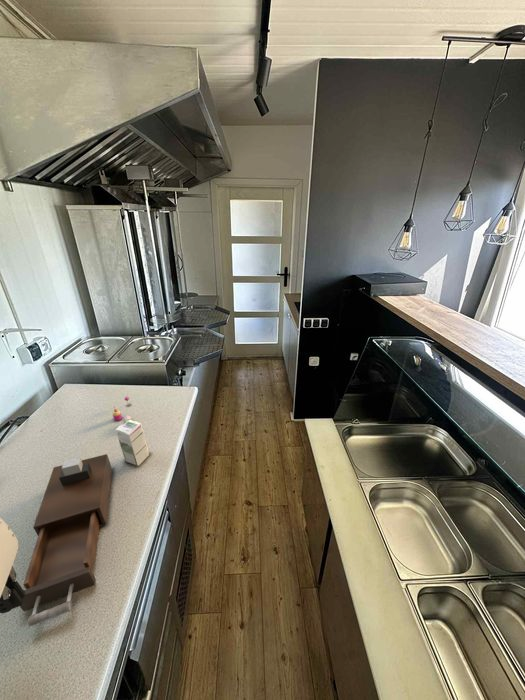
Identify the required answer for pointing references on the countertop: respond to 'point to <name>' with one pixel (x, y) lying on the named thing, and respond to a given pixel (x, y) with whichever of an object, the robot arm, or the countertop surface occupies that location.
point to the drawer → (61, 565)
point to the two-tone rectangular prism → (74, 471)
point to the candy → (118, 415)
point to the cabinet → (76, 495)
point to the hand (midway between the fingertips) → (12, 603)
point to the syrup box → (132, 442)
